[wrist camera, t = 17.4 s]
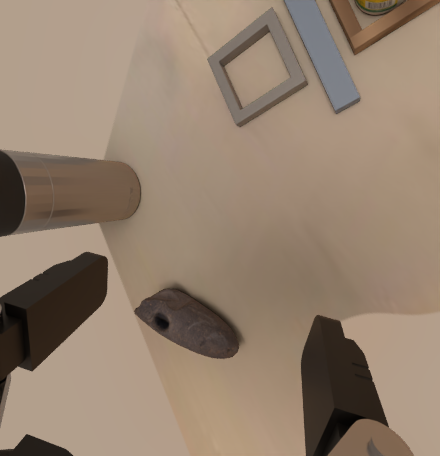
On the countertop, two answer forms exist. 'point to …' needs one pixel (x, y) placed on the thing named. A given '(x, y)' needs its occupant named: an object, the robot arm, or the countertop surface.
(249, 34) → the holder open
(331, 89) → the door sill
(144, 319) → the perforated stone tool
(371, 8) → the supplement bottle
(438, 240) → the countertop surface
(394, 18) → the holder
